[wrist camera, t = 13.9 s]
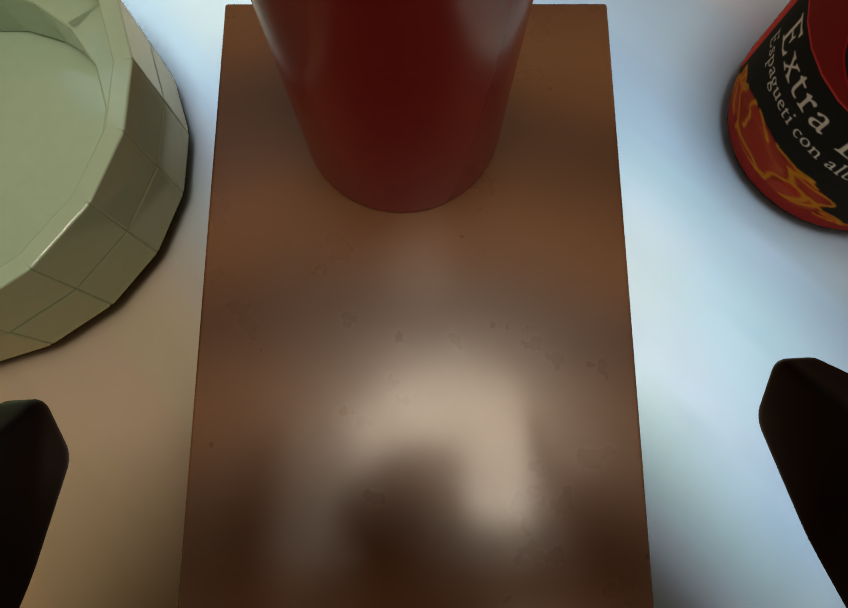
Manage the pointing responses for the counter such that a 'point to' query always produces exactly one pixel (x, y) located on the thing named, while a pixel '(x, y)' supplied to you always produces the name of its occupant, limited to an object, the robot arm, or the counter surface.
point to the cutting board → (419, 361)
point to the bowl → (80, 163)
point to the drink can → (397, 90)
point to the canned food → (797, 112)
